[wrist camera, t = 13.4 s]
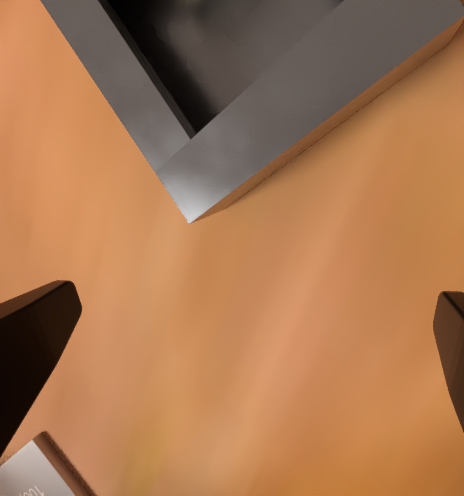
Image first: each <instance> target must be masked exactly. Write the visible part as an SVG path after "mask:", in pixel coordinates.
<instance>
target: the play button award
mask: <svg viewBox="0 0 464 496" xmlns="http://www.w3.org/2000/svg"><path fill="white" fill-rule="evenodd" d="M0 496H90V495H89V493H88V492H87V491H86V489H85V488H84V487H83V486H82V484H81V483H80V482H79V480H78V479H77V478H76V477H75V475H74V474H73V473H72V471H71V470H70V469H69V468H68V466H67V465H66V464H65V462H64V461H63V460H62V459H61V457H60V456H59V455H58V453H57V452H56V451H55V450H54V448H53V447H52V446H51V444H50V443H49V442H48V441H47V439H46V438H45V437H44V435H43V434H42V433H40V434H38V435H37V436H36V437H35V438H34V439H32V440H31V441H30V442H29V443H28V444H26V445H25V446H24V447H23V448H22V449H20V450H19V451H18V452H17V453H16V454H15V455H13V456H12V457H11V458H10V459H9V460H7V461H6V462H5V463H4V464H3V465H1V466H0Z"/></svg>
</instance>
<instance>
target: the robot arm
mask: <svg viewBox="0 0 464 496" xmlns="http://www.w3.org/2000/svg"><path fill="white" fill-rule="evenodd" d="M81 313H82V305H81V302H80V299H79V296H78V293H77V290H76V287H75V285H74V283H73V282H71V281H65V280H57V281H54V282H51V283H49V284H46V285H44V286H41V287H39V288H37V289H34V290H32V291H29V292H27V293H25V294H22V295H20V296H17V297H15V298H12V299H10V300H8V301H5V302H3V303H0V457H1V456H2V454H3V452H4V451H5V449H6V447H7V446H8V444H9V443H10V441H11V439H12V438H13V436H14V434H15V433H16V431H17V429H18V428H19V426H20V424H21V423H22V421H23V419H24V418H25V416H26V415H27V413H28V411H29V410H30V408H31V406H32V405H33V403H34V401H35V400H36V398H37V396H38V395H39V393H40V391H41V390H42V388H43V387H44V385H45V383H46V382H47V380H48V378H49V377H50V375H51V373H52V372H53V370H54V368H55V367H56V365H57V363H58V361H59V359H60V357H61V355H62V353H63V351H64V349H65V347H66V345H67V343H68V341H69V339H70V337H71V334H72V332H73V330H74V328H75V326H76V324H77V322H78V320H79V318H80V316H81ZM433 330H434V335H435V339H436V343H437V347H438V351H439V355H440V359H441V363H442V367H443V371H444V375H445V379H446V383H447V387H448V391H449V394H450V397H451V400H452V403H453V406H454V408H455V411H456V414H457V416H458V419H459V421H460V424H461V427H462V429H463V432H464V293H463V292H459V291H443V292H441V293H440V294H439V296H438V301H437V306H436V311H435V315H434V320H433Z"/></svg>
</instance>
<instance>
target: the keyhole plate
mask: <svg viewBox="0 0 464 496" xmlns="http://www.w3.org/2000/svg"><path fill="white" fill-rule="evenodd" d="M41 2H42V3H43V5H44V6H45V8H46V9H47V11H48V12H49V14H50V15H51V17H52V18H53V20H54V21H55V23H56V24H57V26H58V27H59V29H60V30H61V32H62V33H63V35H64V36H65V38H66V39H67V41H68V42H69V44H70V45H71V47H72V48H73V50H74V51H75V53H76V54H77V56H78V57H79V59H80V60H81V62H82V63H83V65H84V66H85V68H86V69H87V71H88V72H89V74H90V76H91V77H92V79H93V80H94V82H95V83H96V85H97V86H98V88H99V89H100V91H101V92H102V94H103V95H104V97H105V98H106V100H107V101H108V103H109V104H110V106H111V107H112V109H113V110H114V112H115V113H116V115H117V116H118V118H119V119H120V121H121V122H122V124H123V125H124V127H125V128H126V130H127V131H128V133H129V134H130V136H131V137H132V139H133V140H134V142H135V143H136V145H137V146H138V148H139V149H140V151H141V152H142V154H143V155H144V157H145V158H146V160H147V161H148V163H149V164H150V166H151V167H152V169H153V170H154V172H155V173H156V175H157V176H158V178H159V179H160V181H161V182H162V184H163V185H164V187H165V188H166V190H167V191H168V193H169V194H170V196H171V197H172V199H173V200H174V202H175V203H176V205H177V206H178V208H179V209H180V211H181V212H182V214H183V215H184V217H185V218H186V220H187V221H188V223H189V224H190V223H193V222H195V221H198V220H200V219H202V218H205V217H207V216H210V215H212V214H215V213H217V212H219V211H222V210H224V209H226V208H227V207H228V206H230V205H231V204H232V203H234V202H235V201H236V200H238V199H239V198H240V197H242V196H243V195H245V194H246V193H247V192H249V191H250V190H251V189H253V188H254V187H255V186H257V185H258V184H259V183H261V182H262V181H263V180H265V179H266V178H268V177H269V176H270V175H272V174H273V173H274V172H276V171H277V170H278V169H280V168H281V167H282V166H284V165H285V164H287V163H288V162H289V161H291V160H292V159H293V158H295V157H296V156H297V155H299V154H300V153H301V152H303V151H304V150H306V149H307V148H308V147H310V146H311V145H312V144H314V143H315V142H316V141H318V140H319V139H320V138H322V137H323V136H324V135H326V134H327V133H329V132H330V131H331V130H333V129H334V128H335V127H337V126H338V125H339V124H341V123H342V122H343V121H345V120H346V119H348V118H349V117H350V116H352V115H353V114H354V113H356V112H357V111H358V110H360V109H361V108H362V107H364V106H365V105H366V104H368V103H369V102H371V101H372V100H373V99H375V98H376V97H377V96H379V95H380V94H381V93H383V92H384V91H385V90H387V89H388V88H390V87H391V86H392V85H394V84H395V83H396V82H398V81H399V80H400V79H402V78H403V77H404V76H406V75H407V74H409V73H410V72H411V71H413V70H414V69H415V68H417V67H418V66H419V65H421V64H422V63H423V62H425V61H426V60H427V59H429V58H430V57H432V56H433V55H434V54H436V53H437V52H438V51H440V50H441V49H442V48H444V47H445V46H446V45H448V44H449V42H450V41H451V39H452V38H453V36H454V34H455V33H456V31H457V29H458V28H459V26H460V25H461V23H462V21H463V20H464V6H463V4H462V3H461V1H460V0H41Z"/></svg>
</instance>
